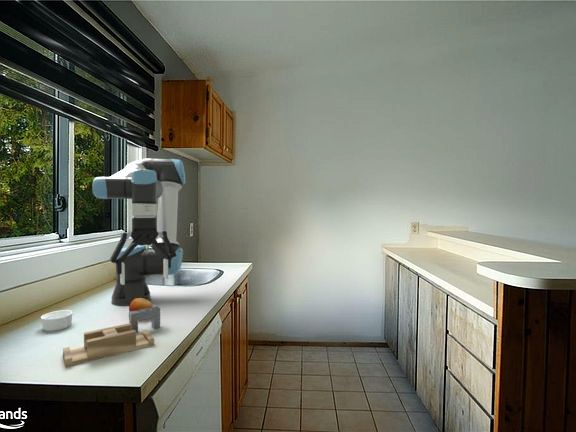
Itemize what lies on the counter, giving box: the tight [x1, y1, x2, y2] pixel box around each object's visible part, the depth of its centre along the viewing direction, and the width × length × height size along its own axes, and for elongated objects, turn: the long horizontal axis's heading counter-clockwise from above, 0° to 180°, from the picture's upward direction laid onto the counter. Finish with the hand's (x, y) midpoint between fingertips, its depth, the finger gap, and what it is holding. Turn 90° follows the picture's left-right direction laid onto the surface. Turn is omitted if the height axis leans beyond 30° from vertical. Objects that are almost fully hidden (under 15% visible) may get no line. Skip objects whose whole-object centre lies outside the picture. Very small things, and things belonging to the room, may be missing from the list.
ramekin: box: [40, 309, 73, 332], centre depth 111 cm, size 9×9×4 cm
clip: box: [128, 306, 161, 334], centre depth 109 cm, size 3×9×6 cm, turn 128°
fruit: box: [128, 298, 154, 312], centre depth 120 cm, size 8×8×8 cm
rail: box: [62, 322, 155, 368], centre depth 94 cm, size 8×22×5 cm, turn 128°
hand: (144, 280), depth 108 cm, fingers open, 13 cm apart
